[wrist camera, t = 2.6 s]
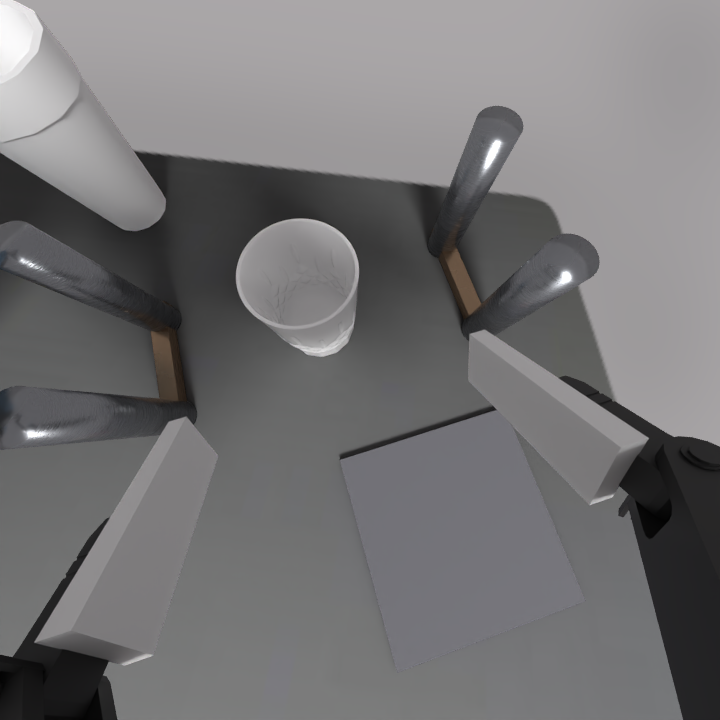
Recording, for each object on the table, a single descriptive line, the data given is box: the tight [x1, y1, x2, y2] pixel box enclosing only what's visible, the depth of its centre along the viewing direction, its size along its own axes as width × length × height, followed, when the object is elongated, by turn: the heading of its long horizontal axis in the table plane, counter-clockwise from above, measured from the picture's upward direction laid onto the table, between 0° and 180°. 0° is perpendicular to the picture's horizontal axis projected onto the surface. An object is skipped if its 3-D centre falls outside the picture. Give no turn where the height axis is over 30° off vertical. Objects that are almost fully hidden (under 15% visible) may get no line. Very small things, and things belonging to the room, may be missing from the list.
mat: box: [340, 409, 586, 673], centre depth 22 cm, size 16×16×1 cm
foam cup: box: [0, 0, 166, 231], centre depth 23 cm, size 10×9×13 cm
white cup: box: [236, 218, 359, 357], centre depth 21 cm, size 8×8×10 cm
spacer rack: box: [0, 106, 599, 450], centre depth 20 cm, size 33×13×12 cm, turn 107°
